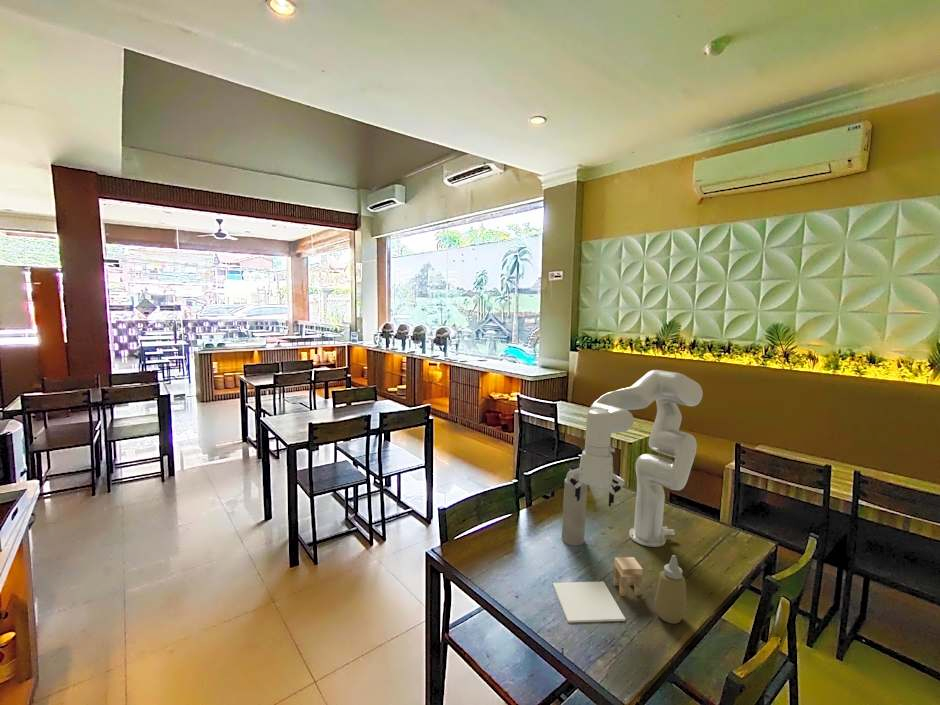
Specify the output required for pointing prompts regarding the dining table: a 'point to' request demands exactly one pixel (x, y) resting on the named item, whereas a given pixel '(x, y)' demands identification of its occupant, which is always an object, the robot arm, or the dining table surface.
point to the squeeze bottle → (671, 593)
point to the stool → (627, 574)
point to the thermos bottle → (574, 511)
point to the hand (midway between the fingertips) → (594, 501)
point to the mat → (587, 602)
